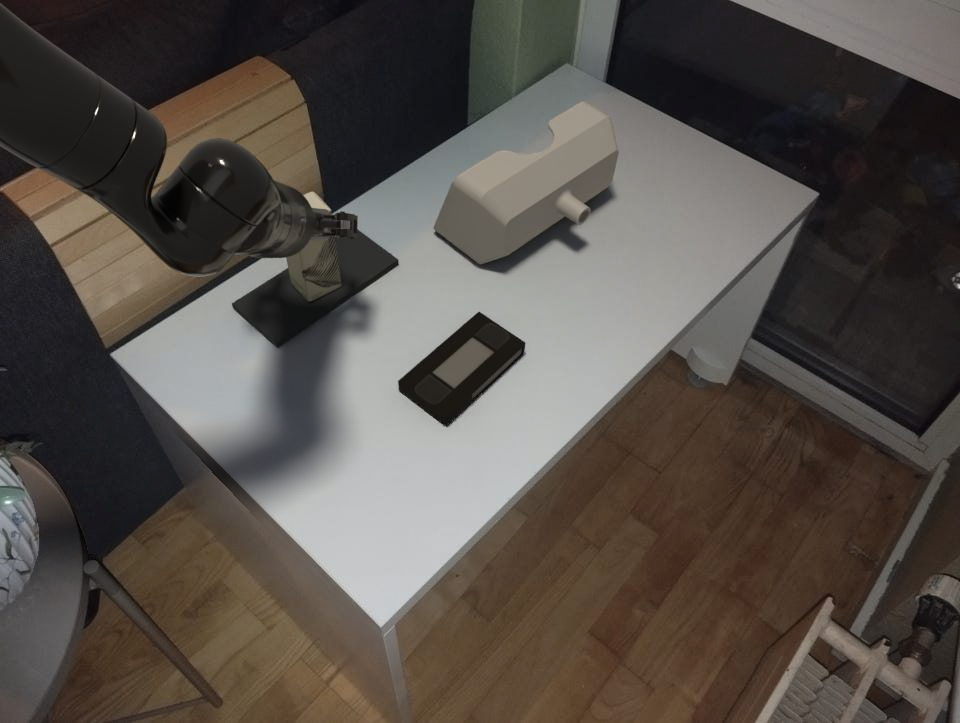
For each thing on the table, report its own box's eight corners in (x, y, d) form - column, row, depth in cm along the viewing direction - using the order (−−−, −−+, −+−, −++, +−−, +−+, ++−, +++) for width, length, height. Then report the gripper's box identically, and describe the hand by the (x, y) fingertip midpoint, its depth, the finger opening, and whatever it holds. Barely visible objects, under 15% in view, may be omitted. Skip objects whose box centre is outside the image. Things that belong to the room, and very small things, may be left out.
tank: (513, 296, 99) (521, 224, 89) (431, 232, 106) (429, 159, 96) (634, 209, 110) (653, 136, 100) (553, 156, 117) (563, 83, 107)
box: (308, 304, 96) (292, 228, 86) (290, 283, 98) (272, 206, 88) (344, 285, 98) (332, 208, 88) (326, 265, 100) (312, 188, 90)
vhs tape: (524, 353, 94) (526, 343, 92) (446, 427, 87) (446, 417, 85) (478, 321, 97) (479, 311, 95) (398, 390, 90) (397, 381, 88)
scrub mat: (277, 348, 93) (276, 343, 92) (233, 308, 96) (231, 303, 96) (398, 264, 102) (398, 259, 101) (354, 231, 106) (353, 226, 105)
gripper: (341, 182, 74) (364, 196, 90) (192, 176, 74) (242, 190, 90) (339, 261, 75) (363, 260, 91) (193, 255, 75) (242, 255, 91)
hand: (303, 225), depth 90 cm, fingers open, 8 cm apart
